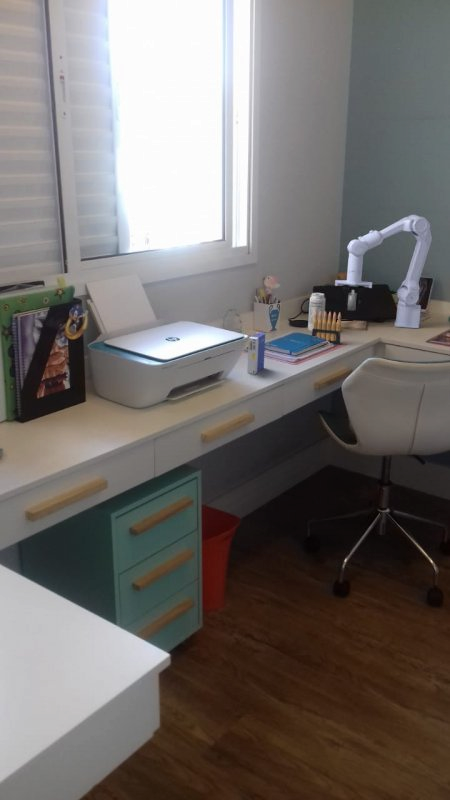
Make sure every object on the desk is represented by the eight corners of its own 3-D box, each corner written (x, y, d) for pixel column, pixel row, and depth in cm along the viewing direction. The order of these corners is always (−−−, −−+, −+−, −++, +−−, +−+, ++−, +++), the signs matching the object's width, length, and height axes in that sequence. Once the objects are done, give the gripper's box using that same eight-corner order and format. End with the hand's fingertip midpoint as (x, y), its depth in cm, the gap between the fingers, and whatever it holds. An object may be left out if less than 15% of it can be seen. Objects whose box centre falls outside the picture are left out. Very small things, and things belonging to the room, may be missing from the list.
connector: (355, 307, 299) (357, 289, 297) (355, 310, 294) (356, 292, 291) (347, 307, 300) (349, 288, 297) (347, 310, 294) (348, 291, 291)
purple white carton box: (256, 366, 243) (257, 331, 239) (263, 367, 242) (265, 332, 238) (246, 372, 236) (248, 336, 232) (254, 374, 235) (256, 338, 231)
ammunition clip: (311, 341, 274) (313, 310, 270) (311, 340, 276) (314, 309, 272) (339, 344, 271) (342, 313, 267) (340, 343, 273) (342, 312, 269)
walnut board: (366, 323, 303) (366, 321, 303) (365, 330, 292) (366, 328, 292) (334, 321, 306) (335, 319, 305) (333, 328, 295) (333, 326, 294)
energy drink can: (325, 331, 289) (328, 293, 284) (319, 334, 285) (322, 296, 279) (311, 329, 292) (314, 291, 287) (305, 332, 287) (307, 294, 282)
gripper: (335, 271, 289) (333, 305, 294) (373, 273, 286) (369, 307, 291) (336, 268, 295) (334, 301, 300) (373, 270, 293) (370, 303, 298)
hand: (351, 304), depth 296 cm, fingers closed on connector, 3 cm apart
